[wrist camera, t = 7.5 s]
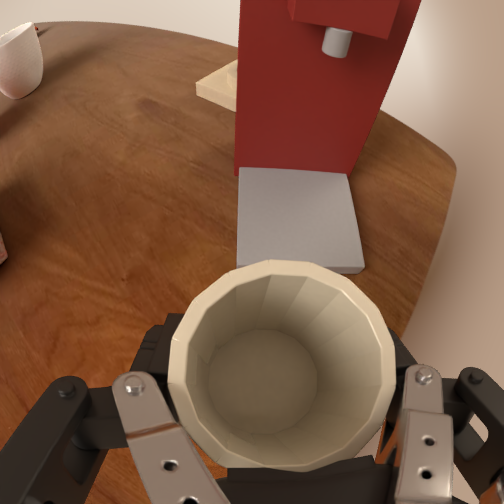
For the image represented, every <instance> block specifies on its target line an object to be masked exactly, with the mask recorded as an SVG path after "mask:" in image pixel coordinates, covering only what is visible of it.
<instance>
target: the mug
mask: <svg viewBox="0 0 504 504" xmlns="http://www.w3.org/2000/svg"><path fill="white" fill-rule="evenodd" d="M42 74H43V58H42V52H41V48H40V43H39V40H38V37H37V34H36V30H35V27H34V24H33V22H28V23H25V24H22V25H20V26H18V27H16V28H14V29H12V30H10V31H9V32H7V33H5V34H4V35H2V36H1V37H0V91H1V92H2V93H3V94H4V95H6V96H8V97H9V98H11V99H20V98H23V97H25V96H26V95H28V94H30V93H31V92H32V91H34V90H35V89H36V88H37V87H38V86H39V84H40V82H41V80H42Z"/></svg>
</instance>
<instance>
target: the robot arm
mask: <svg viewBox="0 0 504 504" xmlns="http://www.w3.org/2000/svg"><path fill="white" fill-rule="evenodd" d="M184 315H185V314H177V313H169V314H168V316H167V318H166V321H165V323H164V325H154V326H153V327H152V328H151V329H149V330H148V331H147V332H146V334H145V336H144V339H143V342H142V343H141V345H140V349H139V350H138V352H137V354H136V357H135V359H134V361H133V364H132V366H131V368H130V371H129V372H126V373H123V374H121V375H119V376H118V377H117V378H116V379H115V380H114V382H113V384H112V386H109V387H102V388H89V389H88V387H87V385H86V383H85V381H84V380H82V379H81V378H79V377H75V376H65V377H61V378H58V379H56V380H55V381H53V382H52V383H51V384H50V385H49V387H48V388H47V389H46V391H45V392H44V393H43V394H42V396H41V397H40V398H39V400H38V401H37V402H36V403H35V405H34V406H33V407H32V409H31V410H30V411H29V413H28V414H27V415H26V417H25V418H24V419H23V421H22V422H21V423H20V425H19V426H18V427H17V429H16V430H15V432H14V433H13V434H12V436H11V437H10V439H9V440H8V441H7V443H6V444H5V446H4V447H3V449H2V450H1V451H0V504H84V503H85V501H86V498H87V496H88V494H89V492H90V489H91V487H92V485H93V483H94V480H95V478H96V476H97V474H98V472H99V469H100V467H101V465H102V463H103V461H104V459H105V457H106V454H107V452H108V450H109V449H114V448H125V447H129V448H130V451H131V454H132V457H133V459H134V462H135V465H136V467H137V470H138V472H139V475H140V477H141V480H142V482H143V484H144V487H145V489H146V491H147V494H148V496H149V498H150V501H151V503H152V504H468V503H466V502H464V501H462V500H460V499H458V498H456V497H454V496H452V484H453V462H454V464H455V465H456V467H457V468H458V469H459V471H460V472H461V474H462V475H463V477H464V478H465V480H466V481H467V483H468V484H469V486H470V487H471V489H472V490H473V492H474V493H475V495H476V496H477V498H478V499H479V504H504V390H503V389H502V388H501V387H500V386H499V385H498V384H497V383H496V382H495V381H494V380H493V379H492V378H491V377H490V376H489V375H488V374H487V373H485V372H484V371H483V370H480V369H478V368H474V367H467V368H464V369H463V370H462V371H461V372H460V375H459V377H458V379H451V378H441V375H440V373H439V372H438V371H437V370H436V369H434V368H433V367H430V366H428V365H424V364H418V363H417V362H416V360H415V359H414V358H413V356H412V355H411V354H410V352H409V351H408V350H407V348H406V347H405V346H404V344H403V343H402V342H401V340H399V338H398V336H397V335H396V334H395V332H394V331H393V330H391V329H390V328H388V327H387V328H388V331H389V333H390V335H391V337H392V340H393V342H394V346H395V363H396V386H395V387H396V388H395V391H394V394H393V397H392V400H391V403H390V406H389V409H388V411H387V414H386V419H385V421H384V423H383V427H382V431H381V436H380V441H379V446H378V450H377V454H376V458H375V461H374V459H373V456H372V455H368V456H363V457H358V458H352V459H346V460H340V461H337V462H334V463H332V464H329V465H326V466H323V467H320V468H318V469H315V470H312V471H308V472H295V471H287V470H279V469H273V468H266V467H260V468H228V470H227V477H224V478H219V479H216V480H215V479H214V478H213V476H212V475H211V473H210V472H209V470H208V468H207V467H206V465H205V464H204V462H203V460H202V459H201V457H200V455H199V454H198V452H197V450H196V449H195V447H194V445H193V443H192V442H191V440H190V438H189V436H188V435H187V433H186V431H185V429H184V428H183V426H182V424H181V423H180V422H179V418H178V416H177V413H176V410H175V407H174V404H173V401H172V398H171V395H170V392H169V389H168V383H167V379H168V367H169V357H170V347H171V340H172V337H173V335H174V333H175V331H176V329H177V327H178V326H179V324H180V322H181V320H182V318H183V317H184ZM474 414H476V415H477V417H478V418H479V419H480V420H481V421H482V422H483V423H484V425H485V426H486V427H487V429H488V438H487V441H486V442H484V441H483V440H482V439H481V438H480V436H479V435H478V434H477V432H476V431H475V430H474V429H473V428H472V426H471V425H470V424H469V422H470V420H471V418H472V417H473V415H474Z"/></svg>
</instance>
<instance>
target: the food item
mask: <svg viewBox="0 0 504 504" xmlns="http://www.w3.org/2000/svg"><path fill="white" fill-rule="evenodd" d="M7 257H8V255H7V251H6V249H5V245H4V242H3V239H2V236H1V233H0V265H1V264H2V263H3V262H4V261H5V260H6V258H7Z"/></svg>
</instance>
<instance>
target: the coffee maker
mask: <svg viewBox="0 0 504 504" xmlns="http://www.w3.org/2000/svg"><path fill="white" fill-rule="evenodd" d="M420 3H421V0H240V19H239V40H238V63H237V89H236V119H235V155H234V176H239V190H238V228H237V269H239V268H242V267H245V266H248V265H251V264H255V263H258V262H261V261H264V260H269V259H276V260H292V261H309V262H310V263H311V262H313V263H315V264H317V265H320V266H322V267H324V268H326V269H329V270H331V271H333V272H335V273H338V274H359V273H360V272H361V271H362V270H363V269H364V268H365V264H364V258H363V252H362V247H361V241H360V236H359V230H358V225H357V220H356V215H355V210H354V206H353V201H352V196H351V192H350V188H349V183H348V179H349V176H350V174H351V172H352V170H353V168H354V166H355V163H356V161H357V159H358V157H359V155H360V152H361V150H362V148H363V146H364V144H365V141H366V139H367V137H368V135H369V132H370V130H371V128H372V125H373V123H374V121H375V119H376V116H377V114H378V112H379V109H380V107H381V104H382V102H383V100H384V97H385V95H386V92H387V90H388V88H389V85H390V83H391V80H392V78H393V75H394V73H395V70H396V68H397V65H398V63H399V60H400V57H401V55H402V52H403V50H404V47H405V44H406V42H407V39H408V36H409V34H410V31H411V28H412V26H413V23H414V20H415V17H416V14H417V12H418V9H419V6H420Z"/></svg>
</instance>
